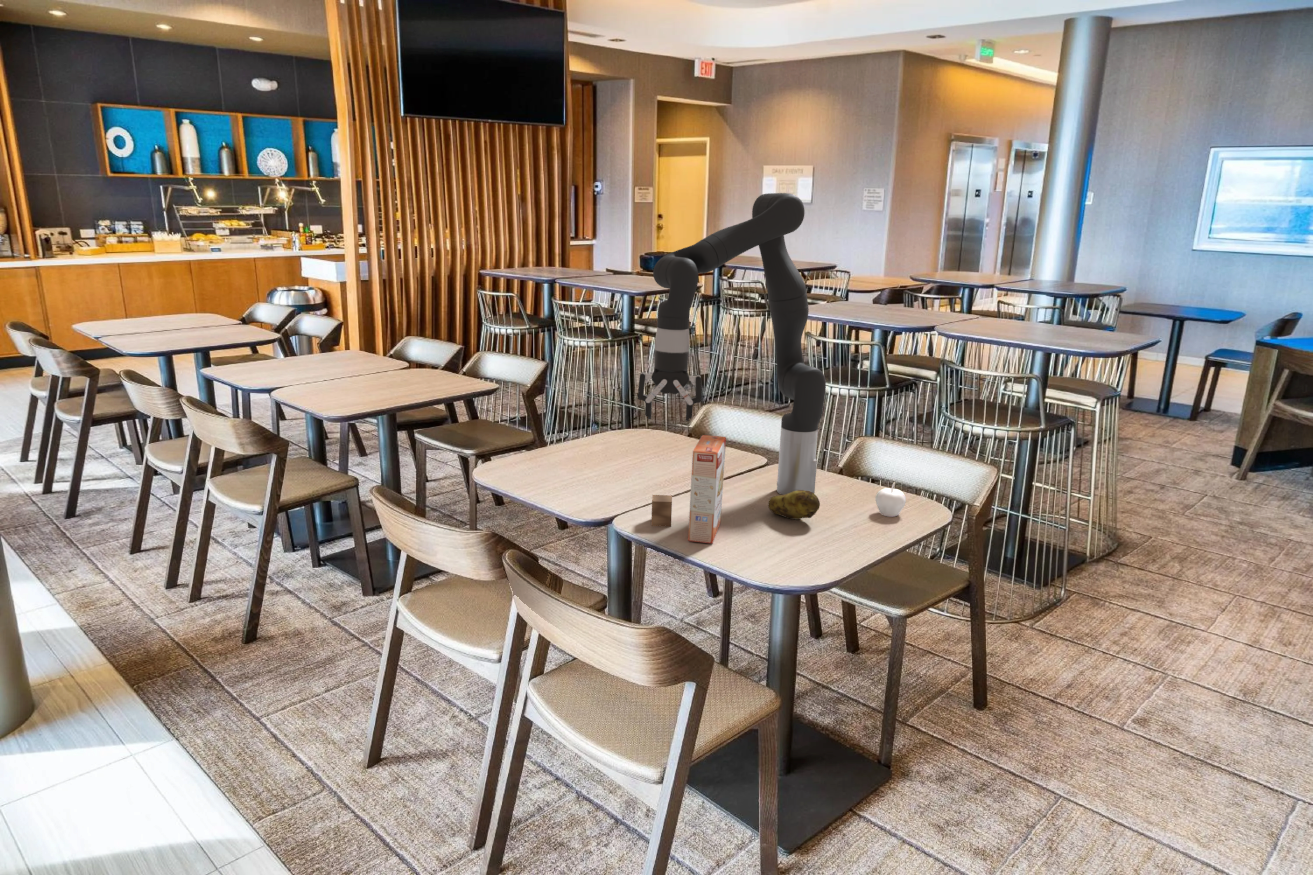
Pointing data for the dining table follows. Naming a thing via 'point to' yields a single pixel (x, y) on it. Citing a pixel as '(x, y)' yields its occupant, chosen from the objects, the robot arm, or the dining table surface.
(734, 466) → the dining table surface
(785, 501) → the potato
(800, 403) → the robot arm
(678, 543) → the dining table surface
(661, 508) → the walnut block
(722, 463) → the cracker box
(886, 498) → the plain white apple
